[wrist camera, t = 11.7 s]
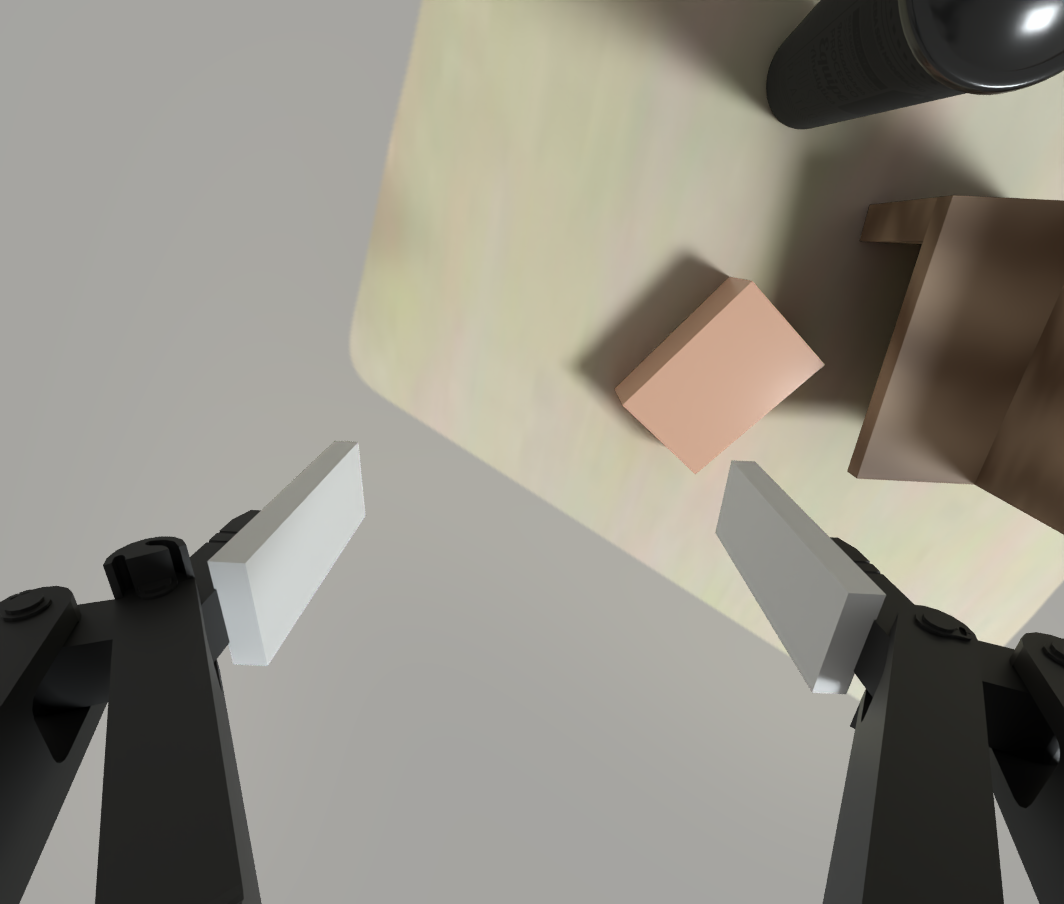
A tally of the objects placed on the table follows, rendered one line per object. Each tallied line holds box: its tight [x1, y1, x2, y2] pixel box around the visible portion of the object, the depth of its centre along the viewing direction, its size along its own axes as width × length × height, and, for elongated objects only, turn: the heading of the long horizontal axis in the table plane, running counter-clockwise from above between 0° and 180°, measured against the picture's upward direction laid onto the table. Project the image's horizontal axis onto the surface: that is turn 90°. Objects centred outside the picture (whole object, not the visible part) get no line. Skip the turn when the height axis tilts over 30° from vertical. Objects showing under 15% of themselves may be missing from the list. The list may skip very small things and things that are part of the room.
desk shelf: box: [848, 195, 1064, 534], centre depth 26 cm, size 15×9×14 cm, turn 178°
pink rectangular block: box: [615, 277, 825, 474], centre depth 32 cm, size 7×10×4 cm
